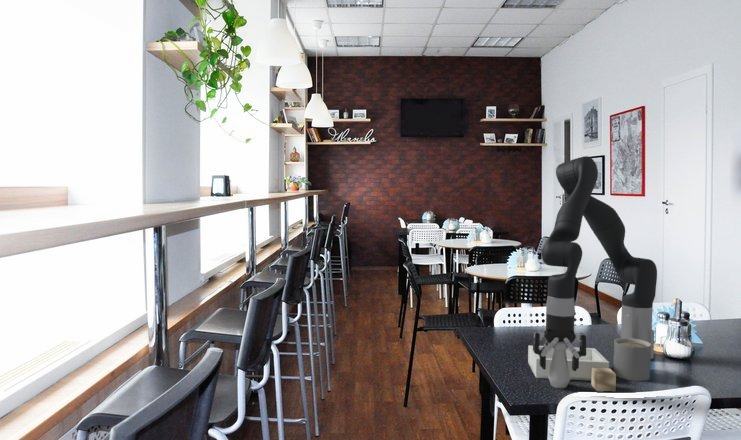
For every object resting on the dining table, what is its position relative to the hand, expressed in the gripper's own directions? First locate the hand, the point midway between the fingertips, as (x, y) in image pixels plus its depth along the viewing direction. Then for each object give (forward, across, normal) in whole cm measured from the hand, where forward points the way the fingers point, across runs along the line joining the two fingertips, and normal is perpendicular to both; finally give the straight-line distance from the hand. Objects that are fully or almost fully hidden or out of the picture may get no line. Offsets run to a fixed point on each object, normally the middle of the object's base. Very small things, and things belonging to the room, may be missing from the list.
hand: (558, 369), depth 149 cm
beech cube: (+5, -12, 0) cm, 13 cm away
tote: (+5, -5, -13) cm, 15 cm away
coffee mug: (+5, -25, -14) cm, 29 cm away
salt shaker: (+5, 0, 0) cm, 5 cm away
